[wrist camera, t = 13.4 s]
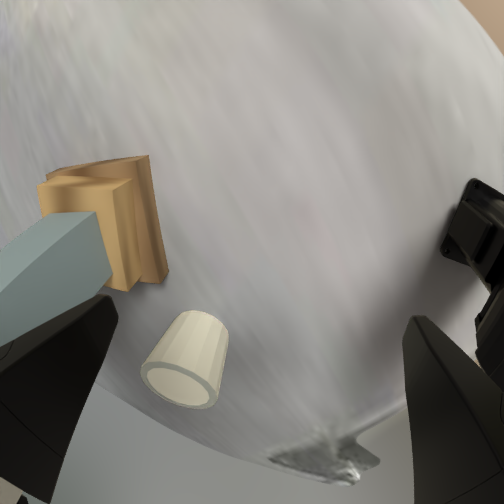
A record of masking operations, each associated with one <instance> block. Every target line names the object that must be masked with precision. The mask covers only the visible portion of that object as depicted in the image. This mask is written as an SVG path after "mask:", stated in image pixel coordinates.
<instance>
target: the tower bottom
mask: <svg viewBox="0 0 504 504" xmlns="http://www.w3.org/2000/svg"><path fill="white" fill-rule="evenodd" d="M55 176H85V177H108V178H126V179H132V182H133V196H134V208H135V219H136V228H137V237H138V245H139V253H140V261H141V267H142V275H141V277H140V278H139V279H138V280H137V281H138V282H147V283H156V284H160V283H161V282H162V281H163V279H164V278H165V276H166V275H167V274H168V272H169V269H168V265H167V260H166V255H165V250H164V245H163V240H162V235H161V230H160V224H159V219H158V213H157V207H156V201H155V195H154V189H153V182H152V176H151V169H150V161H149V155H145V156H136V157H128V158H120V159H113V160H106V161H99V162H93V163H87V164H81V165H75V166H70V167H64V168H59V169H57V170H55V171H53V172H51V173H49V174H46V178H47V180H49V179H51V178H53V177H55Z"/></svg>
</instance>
